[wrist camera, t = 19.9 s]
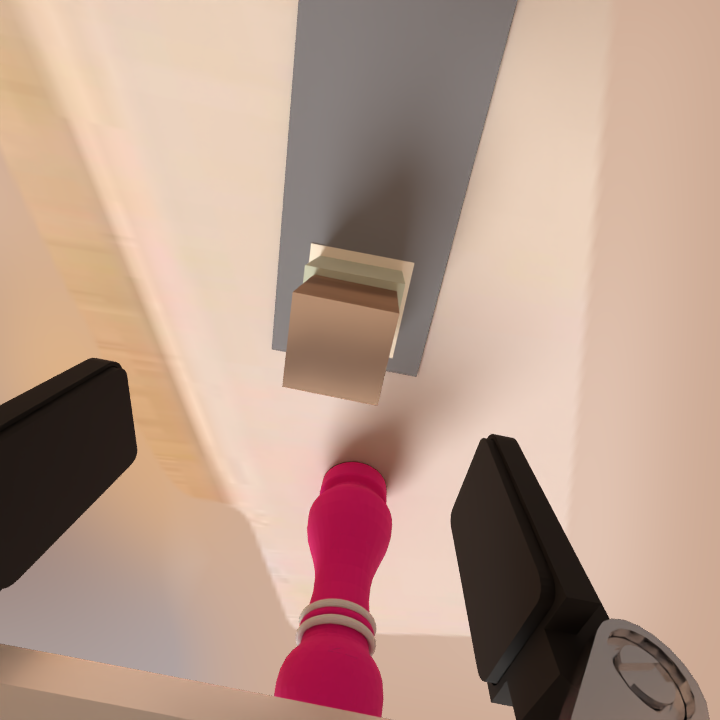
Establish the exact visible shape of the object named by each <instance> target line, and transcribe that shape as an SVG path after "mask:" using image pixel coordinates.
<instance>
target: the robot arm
mask: <svg viewBox="0 0 720 720" xmlns="http://www.w3.org/2000/svg"><path fill="white" fill-rule="evenodd" d="M136 455H137V444H136V437H135V430H134V422H133V415H132V408H131V400H130V393H129V386H128V378H127V373H126V371H125V370H123V369H122V367H121V365H120V364H119V363H117V362H114V361H108V360H103V359H98V358H90V359H88V360H86V361H84V362H82V363H80V364H78V365H76V366H74V367H72V368H70V369H69V370H66V371H65V372H63V373H61V374H59V375H57V376H55V377H53V378H51V379H49V380H47V381H46V382H44V383H42V384H40V385H38V386H36V387H34V388H32V389H30V390H28V391H26V392H25V393H23V394H21V395H19V396H17V397H15V398H13V399H11V400H9V401H7V402H5V403H4V404H2V405H0V591H1V590H2V589H4V588H7V587H9V586H10V585H12V584H14V582H16V581H17V580H18V579H19V578H20V577H21V576H22V575H23V574H24V573H25V572H26V571H27V570H28V569H29V568H30V567H31V566H32V565H33V564H34V563H35V561H37V560H38V559H39V558H40V557H41V556H42V555H43V554H44V553H45V551H47V550H48V549H49V547H50V546H52V544H54V542H55V541H57V539H58V538H59V537H60V536H61V535H62V534H63V533H64V532H65V531H66V530H67V529H68V528H69V527H70V526H71V525H72V524H73V523H74V522H75V521H76V520H77V519H78V518H79V517H80V516H81V515H82V514H83V513H84V512H85V511H86V510H87V509H88V508H89V507H90V506H91V505H92V504H93V503H94V502H95V501H96V500H97V499H98V498H99V497H100V496H101V495H102V494H103V493H104V492H105V491H106V490H107V489H108V488H109V487H110V486H111V485H112V484H113V482H114V481H115V480H116V479H117V478H118V477H119V476H120V475H121V474H122V473H123V472H124V471H125V470H126V469H127V468H128V467H129V466H130V465H131V464H132V463H133V461H134V460H135V458H136ZM451 529H452V534H453V539H454V545H455V550H456V556H457V561H458V567H459V572H460V577H461V583H462V588H463V594H464V599H465V605H466V610H467V615H468V621H469V626H470V632H471V637H472V643H473V648H474V653H475V659H476V664H477V669H478V673H479V676H480V678H481V680H482V681H484V682H487V684H488V689H489V694H490V699H491V702H492V703H497V704H502V705H507V706H513V708H514V712H515V716H516V720H710V718H709V713H708V708H707V703H706V700H705V698H704V696H703V694H702V692H701V690H700V688H699V685H698V683H697V682H696V680H695V679H694V678H693V676H692V675H691V673H690V672H689V670H688V669H687V667H686V666H685V665H684V664H683V663H682V662H681V660H680V659H679V658H678V657H677V656H676V655H675V654H674V653H673V652H672V651H671V650H670V648H668V647H667V646H666V645H665V644H664V643H662V642H661V641H660V640H659V639H658V638H657V637H655V636H654V635H653V634H651V633H649V632H648V631H646V630H644V629H643V628H641V627H640V626H638V625H636V624H633V623H631V622H628V621H626V620H621V619H609V617H608V615H607V613H606V611H605V610H604V607H603V606H602V603H601V602H600V600H599V598H598V596H597V594H596V592H595V590H594V588H593V586H592V584H591V582H590V580H589V579H588V577H587V575H586V573H585V571H584V569H583V567H582V565H581V564H580V561H579V559H578V557H577V556H576V554H575V552H574V550H573V548H572V546H571V544H570V542H569V540H568V538H567V536H566V534H565V533H564V531H563V529H562V527H561V525H560V523H559V521H558V519H557V517H556V515H555V513H554V511H553V510H552V508H551V506H550V504H549V502H548V500H547V498H546V496H545V494H544V492H543V490H542V488H541V487H540V485H539V483H538V481H537V479H536V477H535V475H534V473H533V471H532V469H531V467H530V466H529V464H528V462H527V460H526V458H525V456H524V454H523V452H522V450H521V448H520V446H519V444H518V443H517V441H516V440H515V439H514V438H510V437H505V436H500V435H495V434H491V435H489V436H488V438H487V439H486V438H482V439H481V440H480V442H479V445H478V447H477V450H476V452H475V455H474V457H473V460H472V462H471V465H470V467H469V470H468V472H467V475H466V477H465V479H464V482H463V484H462V487H461V489H460V492H459V494H458V497H457V499H456V502H455V504H454V507H453V509H452V512H451ZM0 720H391V719H386V718H381V717H376V716H371V715H366V714H361V713H356V712H351V711H346V710H341V709H336V708H331V707H326V706H320V705H315V704H310V703H305V702H300V701H295V700H290V699H285V698H280V697H275V696H270V695H265V694H260V693H255V692H250V691H245V690H240V689H234V688H229V687H224V686H219V685H214V684H209V683H203V682H198V681H193V680H188V679H182V678H177V677H173V676H167V675H162V674H157V673H151V672H147V671H141V670H136V669H131V668H126V667H121V666H115V665H110V664H105V663H99V662H94V661H89V660H84V659H79V658H73V657H68V656H63V655H57V654H53V653H47V652H42V651H36V650H31V649H26V648H20V647H15V646H10V645H5V644H0Z"/></svg>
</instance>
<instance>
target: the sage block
mask: <svg viewBox="0 0 720 720" xmlns="http://www.w3.org/2000/svg"><path fill="white" fill-rule="evenodd" d="M314 274H315V275H320V276H325V277H330V278H334V279H339V280H344V281H349V282H354V283H359V284H364V285H369V286H374V287H379V288H384V289H389V290H394V291H397V297H398V305H399V310H400V306H401V301H402V297H403V292H404V288H405V281H404V277H403V273H402V271H399V270H394V269H389V268H383V267H378V266H373V265H368V264H362V263H357V262H352V261H346V260H341V259H336V258H331V257H325V256H319V257H317V258H315V259H314V260H312V261H311V262H309V263H307V264H306V265H305V269H304V279H303V283H304V282H305V281H307V280H308V279H309V278H310V277H311V276H313V275H314Z"/></svg>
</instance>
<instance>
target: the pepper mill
mask: <svg viewBox="0 0 720 720" xmlns="http://www.w3.org/2000/svg"><path fill="white" fill-rule="evenodd" d="M391 530H392V518H391V514H390V511H389V509H388V507H387V505H386V484H385V480H384V479H383V477H382V475H381V474H380V473H379V472H378V471H377V470H375V469H374V468H372V467H371V466H369V465H366V464H363V463H358V462H345V463H341V464H339V465H336V466H334V467H333V468H331V469H330V470H329V471H328V472H327V473H326V475H325V476H324V479H323V482H322V486H321V491H320V495H319V497H318V498H317V499H316V500H315V501H314V503H313V505H312V507H311V509H310V512H309V518H308V526H307V533H308V543H309V547H310V551H311V555H312V558H313V563H314V568H315V583H314V590H313V594H312V598H311V601H310V604H309V605H308V606H307V607H306V608H305V609H304V610H303V611H302V613H301V615H300V617H299V628H298V629H297V632H296V644H297V647H296V648H295V649H293V650H292V651H291V653H290V654H289V655H288V656H287V657H286V659H285V661H284V663H283V665H282V667H281V668H280V672H279V675H278V678H277V681H276V688H275V693H274V696H275V697H280V698H285V699H290V700H295V701H300V702H305V703H310V704H315V705H320V706H326V707H331V708H336V709H341V710H346V711H351V712H356V713H361V714H366V715H371V716H376V717H381V715H382V706H383V685H382V679H381V675H380V671H379V669H378V667H377V665H376V663H375V662H374V660H373V658H372V655H373V654H374V652H375V647H376V641H375V638H374V636H375V633H376V624H375V621H374V618H373V617H372V615H371V614H370V613H369V595H370V587H371V583H372V579H373V577H374V575H375V573H376V571H377V569H378V567H379V565H380V563H381V561H382V559H383V557H384V556H385V553H386V551H387V548H388V545H389V542H390V538H391Z"/></svg>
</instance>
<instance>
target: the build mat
mask: <svg viewBox="0 0 720 720" xmlns="http://www.w3.org/2000/svg"><path fill="white" fill-rule="evenodd" d="M516 4H517V0H299V3H298V16H297V29H296V42H295V55H294V68H293V81H292V94H291V107H290V120H289V133H288V146H287V159H286V172H285V185H284V198H283V211H282V224H281V237H280V250H279V263H278V276H277V289H276V302H275V315H274V328H273V341H272V349H273V350H278V351H284V352H286V349H287V340H288V331H289V322H290V313H291V303H292V294H293V291H295V290H296V289H297V288H298V287H299V286H301V285H302V284H303V279H304V269H305V265H306V264H307V263H309V262H311V261H312V260H314V259H315V258H317V257H319V256H325V257H331V258H336V259H341V260H346V261H352V262H357V263H362V264H368V265H373V266H378V267H383V268H389V269H394V270H399V271H402V273H403V277H404V281H405V288H404V292H403V297H402V301H401V306H400V310H399V318H398V322H397V326H396V330H395V334H394V339H393V343H392V347H391V351H390V355H389V359H388V363H387V368H386V371H389V372H394V373H399V374H405V375H410V376H415V377H416V376H417V373H418V369H419V365H420V362H421V358H422V354H423V350H424V347H425V343H426V339H427V335H428V332H429V328H430V324H431V321H432V317H433V313H434V309H435V306H436V302H437V298H438V294H439V291H440V287H441V283H442V280H443V276H444V272H445V268H446V265H447V261H448V257H449V253H450V250H451V246H452V242H453V239H454V235H455V231H456V227H457V224H458V220H459V216H460V212H461V209H462V205H463V201H464V198H465V194H466V190H467V186H468V183H469V179H470V175H471V171H472V168H473V164H474V160H475V157H476V153H477V149H478V145H479V142H480V138H481V134H482V131H483V127H484V123H485V119H486V116H487V112H488V108H489V104H490V101H491V97H492V93H493V90H494V86H495V82H496V78H497V75H498V71H499V67H500V63H501V60H502V56H503V52H504V49H505V45H506V41H507V37H508V34H509V30H510V26H511V22H512V19H513V15H514V11H515V8H516Z"/></svg>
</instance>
